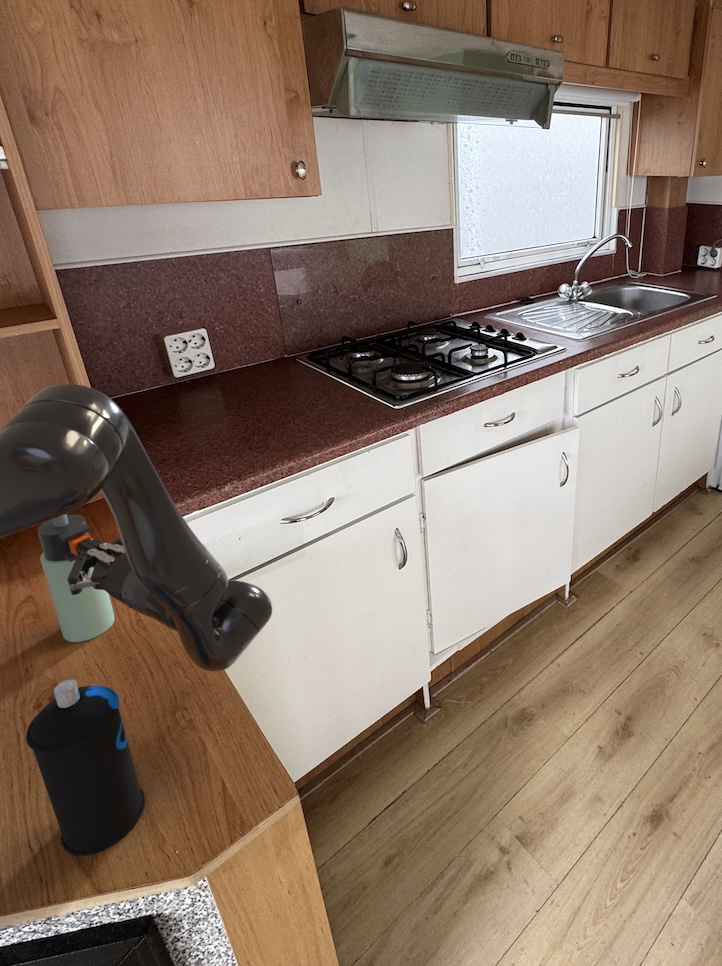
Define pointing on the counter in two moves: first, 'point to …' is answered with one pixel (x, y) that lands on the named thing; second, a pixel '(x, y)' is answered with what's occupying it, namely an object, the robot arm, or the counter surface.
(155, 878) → the counter surface
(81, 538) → the nozzle button
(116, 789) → the black bottle
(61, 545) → the sports bottle
